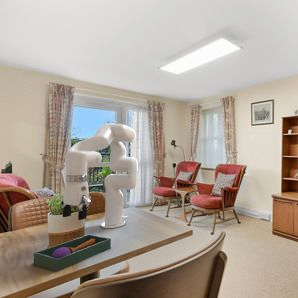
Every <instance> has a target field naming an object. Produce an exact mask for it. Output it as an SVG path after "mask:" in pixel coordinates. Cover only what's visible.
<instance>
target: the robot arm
mask: <svg viewBox="0 0 298 298" xmlns="http://www.w3.org/2000/svg"><path fill="white" fill-rule="evenodd" d="M136 133H137V132H136V131H135V129H133V128H132V127H130V126H129V125H126V124H123V123H103V124H102V125H101V126H100V127H99V128H98V129H97V131H96V132H95V133H94V134H93V136H90V137H87V138H84V139H82V140H80V141H78V142H76V143H74V144H73V145H72V146H71V147H70V148H69V149H68V150H67V152H66V153H65V155H64V162H65V165H66V166H65V181H64V182H65V184H64V189H63V195H62V196H60V201H61V202H60V203H61V205H62V206H61V208H62V218H67V217H71V216H72V206H73V207H78V213H77V220H78V221H82V220H86V219H87V214H88V210H89V207H90V205H91V203H92V201H91V199H90V191H89V184H88V167H89V168H92V167H93V168H94V167H98V166H99V165H100V164H101V163H102V161H103V156H102V154H101V153H100V152H98V151H101V150H104V149H107V148H108V147H109V148H110V156H109V164H108V166H109V167H108V168H109V170H110V171H111V172H113V173H111V174H108V175H106V176H105V178H104V183H103V184H104V189H105V202H104V203H105V204H104V222H102V223H101V225H100V226H101V228H103V229H116V228H120V227H123V226H125V225H126V221H125V220H127V219H129V217H130V216H129V215H124V213H123V212H124V194H123V192H122V191H121V190H123V191H125V190H126V191H127V190H130V191H131V190H134V189H135V188H136V187H137V181H138V171H139V170H138V169H139V163H138V159H137V158H136V157H133V156H127V148H126V146H125V145H124V143H134V141H135V140H136V139H137V134H136ZM114 172H115V173H114ZM116 172H117V173H116Z"/></svg>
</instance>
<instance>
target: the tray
mask: <svg viewBox="0 0 298 298" xmlns="http://www.w3.org/2000/svg"><path fill="white" fill-rule="evenodd" d="M90 239H95V241H96V243H95V245H92V246H89V247H86V248H83V249H79V250H76V251H75V252H74V253H71V254H69V255H66V256H64V257H61V258H59V259H58V258H54V257H52V254H53V252H54V251H55V250H56V249H59V248H61V247H66V248H67V247H71V248H76V247H78V246H79V245H81V244H83V243H85V242H87V241H88V240H90ZM111 243H112V239H111V238H109V237H105V236H99V235H95V234H91V233H89V234H86V235H83V236H80V237H77V238H74V239H71V240H68V241H65V242H62V243H60V244H56V245H54V246H53V245H52V246H50V247H47V248H44V249H41V250H39V251H35V252H33V264H32V265H34V266H36V267H37V266H38V267H40V268H43V269H47V270H51V271H54V272H59V271H62V270H64V269H66V268H69V267H71V266H73V265H76V264H78V263H81V262H82V261H84V260H87V259H89V258H92V257H94V256H96V255H99V254H101V253H103V252H105V251H107V250H110V249H111V245H112V244H111Z"/></svg>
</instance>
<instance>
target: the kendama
mask: <svg viewBox="0 0 298 298" xmlns="http://www.w3.org/2000/svg"><path fill="white" fill-rule="evenodd" d="M95 243H96V241H95V239H90V240H88V241H87V242H85V243H83V244H81V245H79V246H78V247H76V248H71V247H67V248H66V247H61V248H59V249H56V250H55V251H54V252H53V254H52V257H54V258H58V259H59V258H61V257H64V256H66V255H69V254H71V253H74V252H75V251H76V250H79V249H83V248H86V247H89V246H92V245H95Z"/></svg>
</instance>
